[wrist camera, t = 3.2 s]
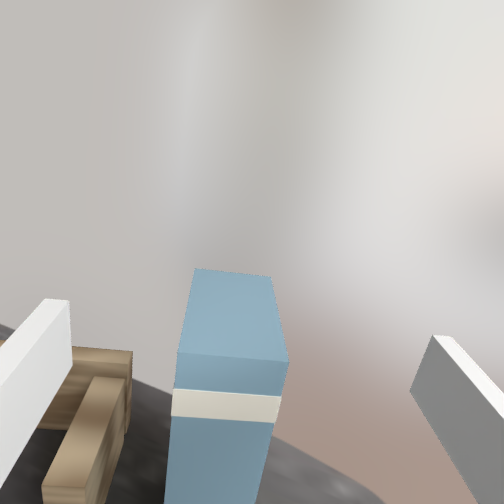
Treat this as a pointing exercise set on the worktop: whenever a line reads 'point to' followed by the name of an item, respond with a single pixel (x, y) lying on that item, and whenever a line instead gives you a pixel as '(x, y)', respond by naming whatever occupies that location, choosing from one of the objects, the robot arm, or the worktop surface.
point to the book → (225, 389)
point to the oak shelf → (88, 425)
